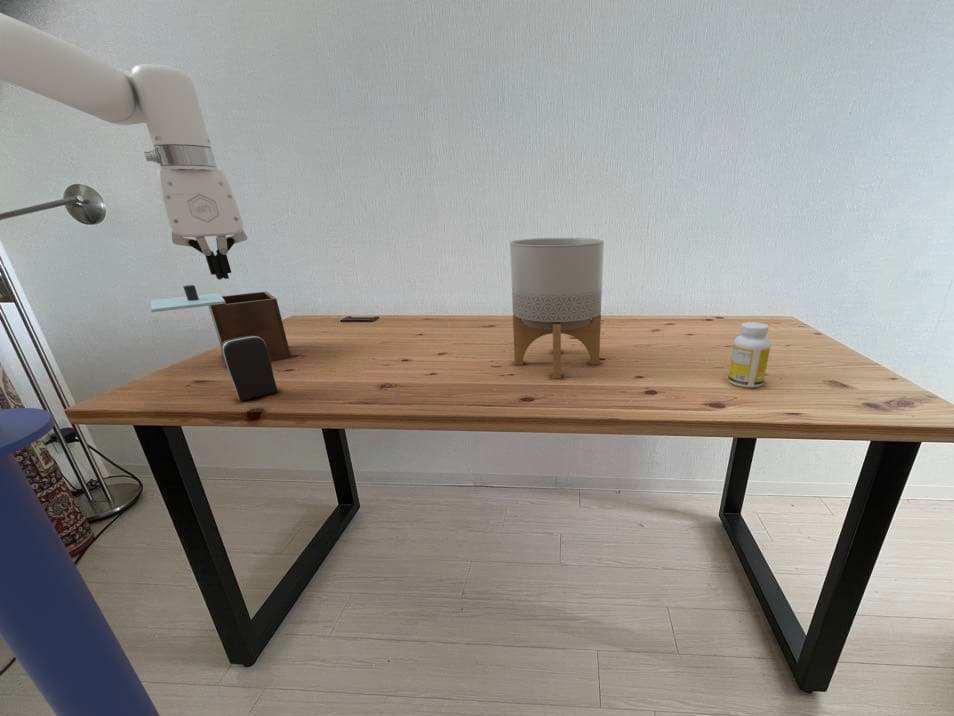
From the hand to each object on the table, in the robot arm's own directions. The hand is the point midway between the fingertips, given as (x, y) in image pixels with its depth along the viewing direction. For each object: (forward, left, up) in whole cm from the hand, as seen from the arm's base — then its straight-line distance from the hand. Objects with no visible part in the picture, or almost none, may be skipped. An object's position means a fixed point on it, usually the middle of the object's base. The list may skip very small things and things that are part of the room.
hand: (222, 278), depth 80 cm
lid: (-6, +26, -8) cm, 28 cm away
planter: (+56, -25, -22) cm, 65 cm away
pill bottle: (+77, -58, -22) cm, 99 cm away
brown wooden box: (+4, +26, -22) cm, 34 cm away
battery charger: (0, -2, -22) cm, 22 cm away
